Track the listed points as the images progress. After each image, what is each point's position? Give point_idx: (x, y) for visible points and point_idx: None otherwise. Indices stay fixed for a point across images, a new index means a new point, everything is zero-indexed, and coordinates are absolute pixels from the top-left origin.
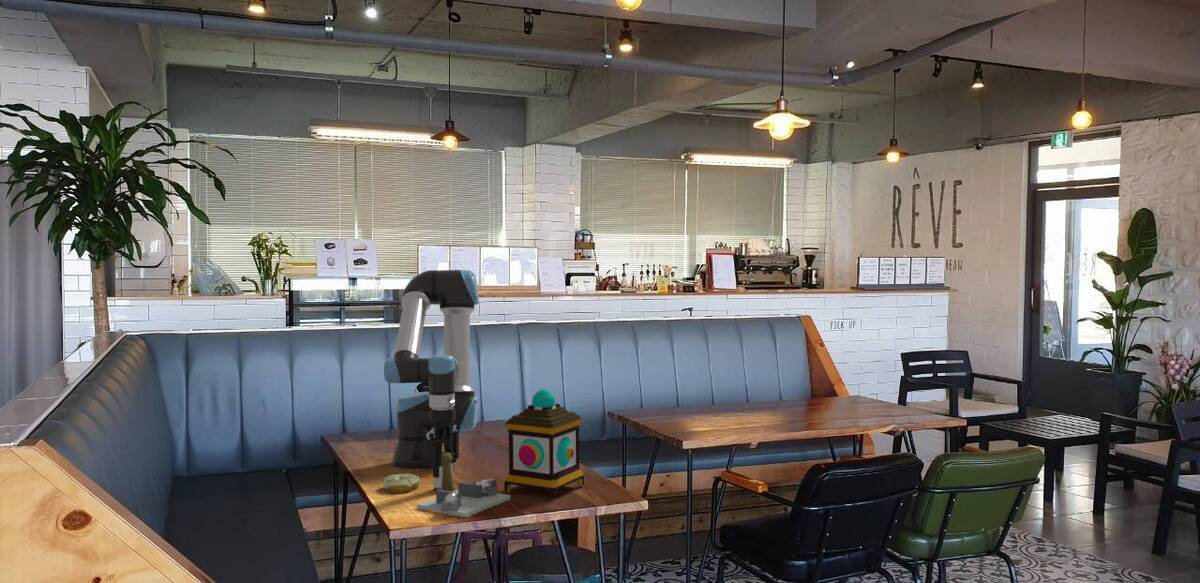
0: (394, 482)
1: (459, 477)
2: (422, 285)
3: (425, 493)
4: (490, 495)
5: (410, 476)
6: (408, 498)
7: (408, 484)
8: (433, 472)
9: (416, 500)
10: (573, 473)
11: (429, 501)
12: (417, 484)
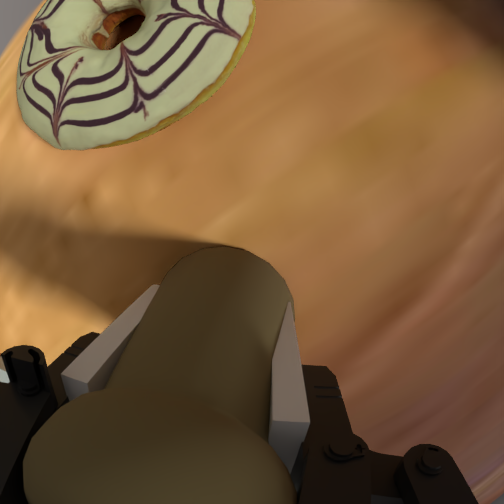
0: (18, 67)
1: (496, 237)
2: None
3: (101, 255)
4: None
5: (145, 40)
6: (12, 228)
7: (47, 139)
8: (65, 359)
9: (12, 286)
10: None
11: (3, 379)
12: (132, 141)
